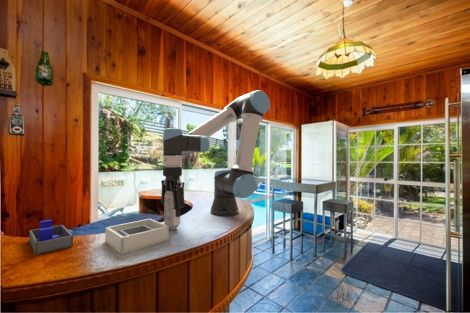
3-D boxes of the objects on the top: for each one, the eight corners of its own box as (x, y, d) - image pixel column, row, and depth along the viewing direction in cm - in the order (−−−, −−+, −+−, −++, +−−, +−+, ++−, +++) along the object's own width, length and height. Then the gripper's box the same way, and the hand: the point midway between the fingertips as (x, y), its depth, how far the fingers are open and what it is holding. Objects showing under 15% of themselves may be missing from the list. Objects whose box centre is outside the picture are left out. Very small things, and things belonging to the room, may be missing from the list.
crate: (149, 231, 87) (150, 218, 87) (168, 240, 78) (169, 226, 78) (105, 241, 75) (105, 227, 75) (121, 254, 66) (121, 237, 66)
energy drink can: (181, 227, 89) (181, 190, 89) (166, 230, 86) (166, 191, 86) (177, 223, 94) (177, 188, 94) (162, 226, 91) (163, 189, 91)
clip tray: (62, 234, 82) (62, 224, 82) (72, 246, 71) (73, 235, 71) (29, 240, 75) (29, 230, 75) (35, 255, 64) (35, 243, 64)
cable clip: (58, 246, 70) (58, 227, 70) (39, 250, 67) (39, 230, 67) (56, 235, 79) (57, 219, 79) (39, 238, 76) (40, 221, 76)
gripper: (152, 165, 94) (152, 220, 94) (177, 167, 81) (177, 230, 81) (168, 165, 99) (167, 216, 99) (194, 167, 86) (193, 225, 86)
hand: (172, 222), depth 90 cm, fingers closed on energy drink can, 6 cm apart
